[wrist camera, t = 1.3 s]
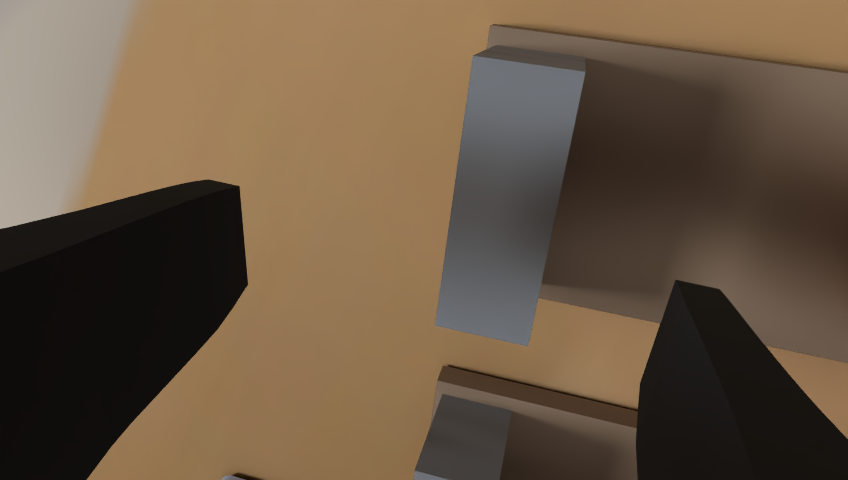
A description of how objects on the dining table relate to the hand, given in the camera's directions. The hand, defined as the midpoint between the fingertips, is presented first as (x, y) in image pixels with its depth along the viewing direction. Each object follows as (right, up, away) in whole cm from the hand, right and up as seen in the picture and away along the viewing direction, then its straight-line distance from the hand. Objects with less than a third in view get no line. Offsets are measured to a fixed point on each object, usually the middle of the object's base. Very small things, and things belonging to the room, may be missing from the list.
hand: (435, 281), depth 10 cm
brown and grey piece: (+10, +2, +8) cm, 13 cm away
